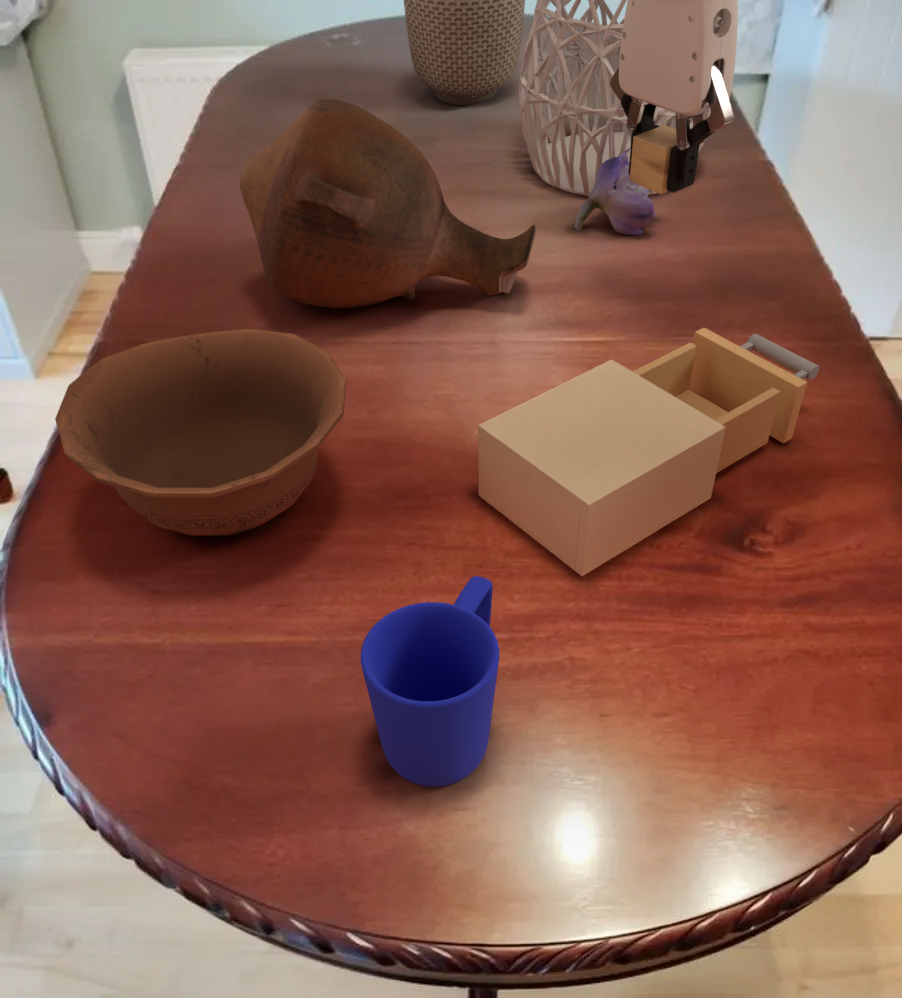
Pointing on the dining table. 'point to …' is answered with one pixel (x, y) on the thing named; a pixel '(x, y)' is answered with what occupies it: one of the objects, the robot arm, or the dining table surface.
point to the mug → (434, 685)
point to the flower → (618, 198)
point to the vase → (573, 96)
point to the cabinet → (598, 463)
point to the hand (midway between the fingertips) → (660, 177)
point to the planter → (464, 45)
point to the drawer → (736, 388)
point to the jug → (362, 215)
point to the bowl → (205, 426)
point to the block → (652, 158)
